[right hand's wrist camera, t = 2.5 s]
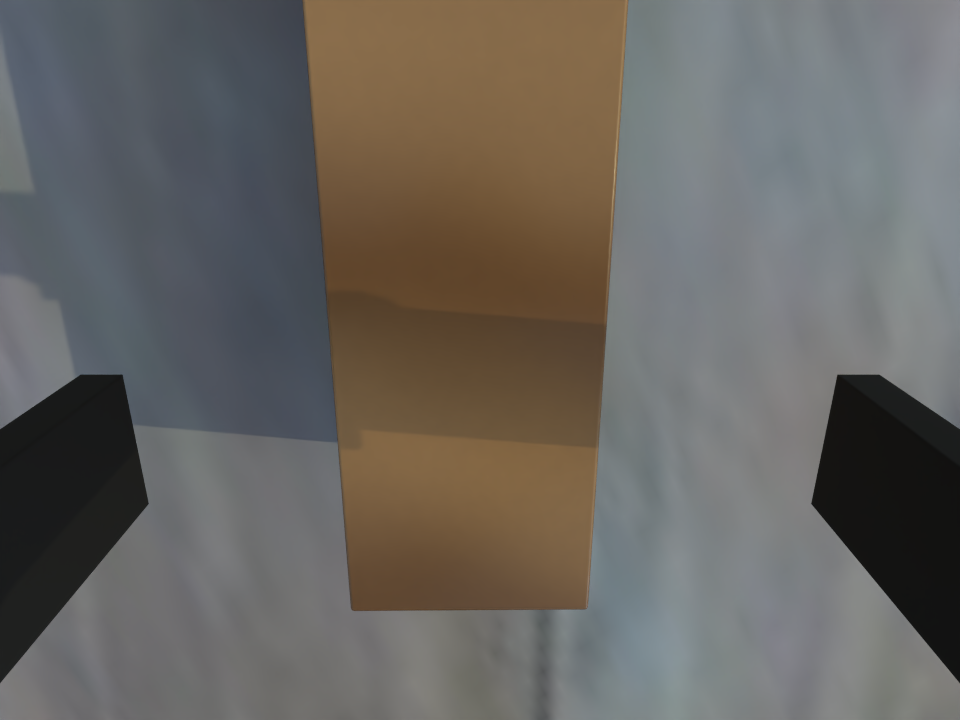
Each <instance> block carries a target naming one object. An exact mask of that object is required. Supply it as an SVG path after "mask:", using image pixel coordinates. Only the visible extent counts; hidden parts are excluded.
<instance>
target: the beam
mask: <svg viewBox="0 0 960 720" xmlns="http://www.w3.org/2000/svg"><path fill="white" fill-rule="evenodd" d="M302 1H303V14H304V26H305V39H306V51H307V64H308V76H309V89H310V101H311V114H312V126H313V139H314V151H315V164H316V176H317V189H318V202H319V214H320V227H321V239H322V252H323V264H324V277H325V289H326V302H327V314H328V327H329V339H330V352H331V364H332V377H333V389H334V402H335V414H336V427H337V439H338V452H339V464H340V477H341V489H342V502H343V514H344V527H345V539H346V552H347V564H348V577H349V589H350V602H351V609H352V610H353V611H391V610H551V609H587V607H588V597H589V582H590V567H591V552H592V537H593V522H594V507H595V492H596V477H597V462H598V447H599V432H600V417H601V402H602V387H603V372H604V357H605V342H606V327H607V312H608V297H609V282H610V267H611V252H612V237H613V222H614V207H615V192H616V177H617V162H618V147H619V132H620V117H621V102H622V87H623V72H624V57H625V42H626V27H627V12H628V0H302Z"/></svg>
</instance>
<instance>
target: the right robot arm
mask: <svg viewBox="0 0 960 720" xmlns="http://www.w3.org/2000/svg"><path fill="white" fill-rule="evenodd" d="M148 504H149V503H148V498H147V493H146V488H145V483H144V479H143V474H142V469H141V464H140V459H139V454H138V449H137V444H136V439H135V434H134V429H133V424H132V419H131V414H130V410H129V405H128V400H127V395H126V390H125V385H124V380H123V375H80V376H78V377H77V378H75V379H74V380H72V381H71V382H69V383H68V384H66V385H65V386H63V387H62V388H60V389H59V390H58V391H56V392H55V393H53V394H52V395H50V396H49V397H47V398H46V399H44V400H43V401H41V402H40V403H38V404H37V405H35V406H34V407H32V408H31V409H29V410H28V411H27V412H25V413H24V414H22V415H21V416H19V417H18V418H16V419H15V420H13V421H12V422H10V423H9V424H7V425H6V426H4V427H3V428H1V429H0V683H1V681H2V680H3V679H4V678H5V677H6V675H7V674H8V673H9V672H10V671H11V669H12V668H13V667H14V666H15V664H16V663H17V662H18V661H19V660H20V658H21V657H22V656H23V655H24V654H25V652H26V651H27V650H28V649H29V648H30V646H31V645H32V644H33V643H34V642H35V640H36V639H37V638H38V637H39V636H40V634H41V633H42V632H43V631H44V629H45V628H46V627H47V626H48V625H49V623H50V622H51V621H52V620H53V619H54V617H55V616H56V615H57V614H58V613H59V611H60V610H61V609H62V608H63V607H64V605H65V604H66V603H67V602H68V601H69V599H70V598H71V597H72V596H73V595H74V593H75V592H76V591H77V590H78V588H79V587H80V586H81V585H82V584H83V582H84V581H85V580H86V579H87V578H88V576H89V575H90V574H91V573H92V572H93V570H94V569H95V568H96V567H97V566H98V564H99V563H100V562H101V561H102V560H103V558H104V557H105V556H106V555H107V553H108V552H109V551H110V550H111V549H112V547H113V546H114V545H115V544H116V543H117V541H118V540H119V539H120V538H121V537H122V535H123V534H124V533H125V532H126V531H127V529H128V528H129V527H130V526H131V525H132V523H133V522H134V521H135V520H136V518H137V517H138V516H139V515H140V514H141V512H142V511H143V510H144V509H145V508H146V506H147V505H148ZM811 504H812V505H813V506H814V508H815V509H816V510H817V511H818V512H819V514H820V515H821V516H822V517H823V518H824V520H825V521H826V522H827V523H828V525H829V526H830V527H831V528H832V529H833V531H834V532H835V533H836V534H837V535H838V537H839V538H840V539H841V540H842V541H843V543H844V544H845V545H846V546H847V547H848V549H849V550H850V551H851V552H852V553H853V555H854V556H855V557H856V558H857V560H858V561H859V562H860V563H861V564H862V566H863V567H864V568H865V569H866V570H867V572H868V573H869V574H870V575H871V576H872V578H873V579H874V580H875V581H876V582H877V584H878V585H879V586H880V587H881V588H882V590H883V591H884V592H885V593H886V595H887V596H888V597H889V598H890V599H891V601H892V602H893V603H894V604H895V605H896V607H897V608H898V609H899V610H900V611H901V613H902V614H903V615H904V616H905V617H906V619H907V620H908V621H909V622H910V623H911V625H912V626H913V627H914V628H915V629H916V631H917V632H918V633H919V634H920V636H921V637H922V638H923V639H924V640H925V642H926V643H927V644H928V645H929V646H930V648H931V649H932V650H933V651H934V652H935V654H936V655H937V656H938V657H939V658H940V660H941V661H942V662H943V663H944V664H945V666H946V667H947V668H948V669H949V671H950V672H951V673H952V674H953V675H954V677H955V678H956V679H957V680H958V681H959V683H960V429H959V428H957V427H956V426H954V425H953V424H951V423H950V422H948V421H947V420H945V419H944V418H942V417H941V416H939V415H938V414H936V413H935V412H933V411H932V410H931V409H929V408H928V407H926V406H925V405H923V404H922V403H920V402H919V401H917V400H916V399H914V398H913V397H911V396H910V395H908V394H907V393H905V392H904V391H902V390H901V389H900V388H898V387H897V386H895V385H894V384H892V383H891V382H889V381H888V380H886V379H885V378H883V377H882V376H880V375H837V380H836V385H835V390H834V395H833V400H832V405H831V410H830V414H829V419H828V424H827V429H826V434H825V439H824V444H823V449H822V454H821V459H820V464H819V469H818V474H817V479H816V483H815V488H814V493H813V498H812V503H811Z"/></svg>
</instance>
